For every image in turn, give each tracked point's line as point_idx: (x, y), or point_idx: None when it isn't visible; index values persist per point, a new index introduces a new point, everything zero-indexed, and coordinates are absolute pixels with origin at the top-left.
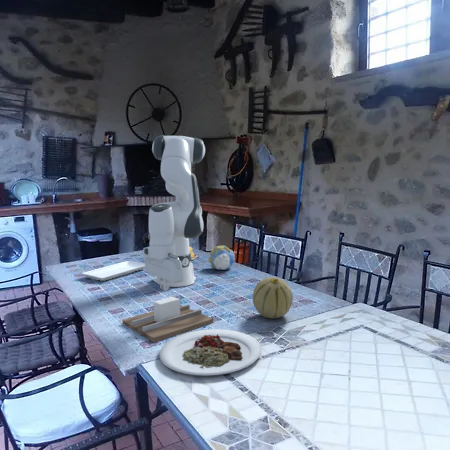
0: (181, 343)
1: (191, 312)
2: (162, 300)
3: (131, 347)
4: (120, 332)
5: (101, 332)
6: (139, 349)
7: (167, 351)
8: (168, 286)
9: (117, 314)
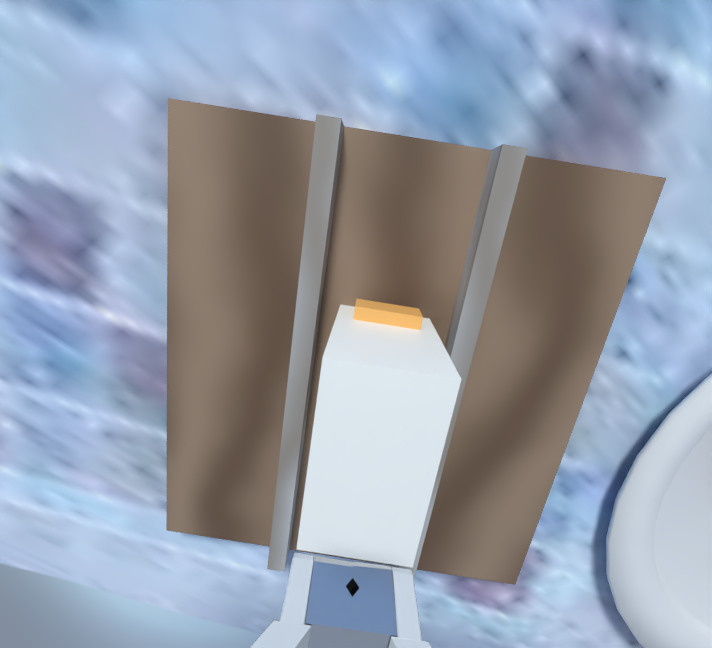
0: (654, 521)
1: (491, 251)
2: (341, 492)
3: (453, 631)
4: (270, 572)
5: (201, 611)
6: (499, 627)
7: (660, 617)
8: (416, 615)
9: (14, 446)
